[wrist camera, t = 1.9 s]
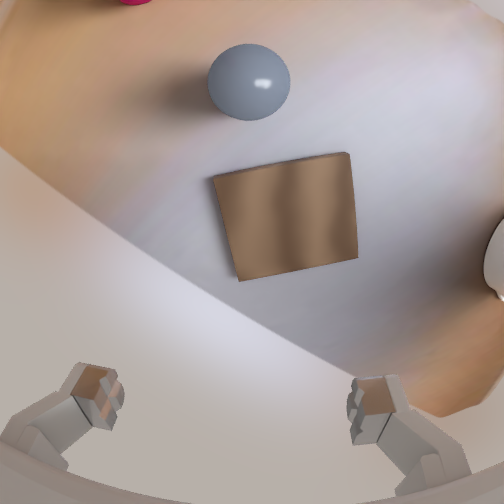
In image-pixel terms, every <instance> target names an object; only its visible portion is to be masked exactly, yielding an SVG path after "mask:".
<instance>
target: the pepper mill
mask: <svg viewBox="0 0 504 504" xmlns="http://www.w3.org/2000/svg"><path fill="white" fill-rule="evenodd" d="M120 1H121V2H123V3H125V4H129V5H139V4H143V3H147V2H149V1H151V0H120Z"/></svg>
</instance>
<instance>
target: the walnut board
mask: <svg viewBox="0 0 504 504" xmlns="http://www.w3.org/2000/svg"><path fill="white" fill-rule="evenodd" d="M213 181H214V185H215V189H216V193H217V197H218V201H219V206H220V210H221V214H222V218H223V222H224V226H225V230H226V234H227V238H228V241H229V245H230V249H231V253H232V257H233V261H234V265H235V269H236V273H237V277H238V280H239V282H241V281H246V280H251V279H256V278H262V277H267V276H272V275H277V274H282V273H287V272H292V271H297V270H302V269H307V268H312V267H317V266H322V265H327V264H332V263H337V262H341V261H346V260H351V259H356V258H358V241H357V225H356V212H355V200H354V189H353V180H352V171H351V162H350V154H348V153H346V152H341V153H335V154H328V155H321V156H315V157H309V158H303V159H297V160H291V161H286V162H280V163H275V164H269V165H264V166H259V167H254V168H249V169H244V170H239V171H234V172H230V173H225V174H221V175H216V176H214V178H213Z"/></svg>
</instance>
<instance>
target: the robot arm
mask: <svg viewBox="0 0 504 504" xmlns="http://www.w3.org/2000/svg"><path fill="white" fill-rule="evenodd" d="M484 277H485V280H486V283H487V284H488V285H489V286H490V287H491V288H493V289H494V290H496V292H497V295H498V297H499V299H501V300H502V301H504V219H503V220H502V221H501V223H500V224H499V225H498V227H497V228H496V230H495V232H494V234H493V236H492V238H491V240H490V242H489V245H488V248H487V251H486V255H485V259H484ZM117 377H118V375H117V373H116V371H115V369H110V368H105V367H100V366H96V365H91V364H85V363H81V362H79V363H77V364H75V366H74V367H73V369H72V371H71V372H70V374H69V375H68V377H67V379H66V380H65V382H64V383H63V385H62V387H61V388H60V390H59V392H57V391H55V392H53V393H51V394H50V395H48V396H46V397H45V398H43V399H41V400H40V401H38V402H36V403H34V404H32V405H31V406H29V407H27V408H26V409H24V410H22V411H20V412H19V413H17V414H15V415H13V416H12V417H11V419H10V420H9V422H8V424H7V425H6V427H5V429H4V430H3V432H2V434H1V436H0V504H191V503H184V502H178V501H172V500H167V499H161V498H156V497H151V496H147V495H142V494H138V493H134V492H130V491H126V490H122V489H118V488H115V487H112V486H108V485H104V484H101V483H98V482H95V481H92V480H89V479H86V478H83V477H80V476H78V475H75V474H72V473H69V472H67V468H68V462H67V461H66V460H65V459H64V458H63V457H62V456H61V455H60V454H61V453H62V452H63V451H65V450H66V449H67V448H68V447H69V446H71V445H72V444H73V443H74V442H76V441H77V440H78V439H79V438H80V437H82V436H83V435H84V434H85V433H86V432H88V431H89V430H90V429H91V428H92V427H97V428H102V429H106V430H111V431H112V429H113V426H114V424H115V421H116V419H117V415H116V411H117V410H119V409H120V408H121V407H122V405H123V402H124V389H123V386H122V384H121V383H120V382H118V381H117V380H116V379H117ZM351 387H352V392H351V393H350V394H349V395H348V399H347V416H348V420H349V421H350V422H351V423H352V426H351V428H350V433H351V439H352V444H353V445H363V444H372V443H377V446H378V447H379V448H380V449H381V450H382V451H383V452H384V453H385V454H386V455H387V456H388V457H389V459H390V460H391V461H392V462H393V463H394V464H395V465H396V466H397V467H398V468H399V469H400V470H401V471H402V473H403V474H404V475H406V477H405V478H404V479H403V481H402V482H401V483H400V484H399V485H398V486H397V487H396V488H395V494H396V497H392V498H387V499H383V500H377V501H371V502H365V503H358V504H504V461H503V462H501V463H499V464H496V465H494V466H492V467H489V468H487V469H485V470H482V471H480V472H477V473H475V474H472V473H471V470H470V467H469V465H468V462H467V459H466V456H465V453H464V451H463V448H462V445H461V444H460V443H458V442H457V441H456V440H454V439H453V438H452V437H450V436H449V435H448V434H446V433H445V432H443V430H441V429H440V428H438V427H437V426H436V425H434V424H433V423H432V422H431V421H429V420H428V419H427V418H425V417H424V416H423V415H421V414H420V413H419V412H417V411H416V410H411V408H410V406H409V403H408V400H407V397H406V394H405V392H404V389H403V386H402V384H401V381H400V379H399V376H398V375H397V374H393V375H384V376H373V377H363V378H354V380H353V382H352V385H351Z"/></svg>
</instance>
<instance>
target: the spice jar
mask: <svg viewBox="0 0 504 504" xmlns="http://www.w3.org/2000/svg"><path fill="white" fill-rule="evenodd" d="M207 81H208V91H209V94H210V97H211V99H212V101H213V102H214V104H215V105H216V106H217V107H218V108H219V109H220V110H221V111H222V112H223V113H225V114H226V115H228V116H230V117H233V118H235V119H239V120H246V121H252V120H258V119H262V118H265V117H267V116H269V115H271V114H273V113H274V112H276V111H277V110H278V109H279V108H280V107H281V106H282V105H283V103H284V102H285V100H286V98H287V96H288V93H289V89H290V75H289V71H288V69H287V66H286V65H285V63H284V61H283V60H282V59H281V58H280V57H279V56H278V55H277V54H276V53H275V52H273V51H272V50H270V49H268V48H266V47H263V46H260V45H255V44H242V45H238V46H234V47H232V48H229V49H228V50H226V51H224V52H223V53H222V54H220V55H219V56H218V57H217V58H216V60H215V61H214V62H213V64H212V66H211V68H210V70H209V74H208V80H207Z"/></svg>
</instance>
